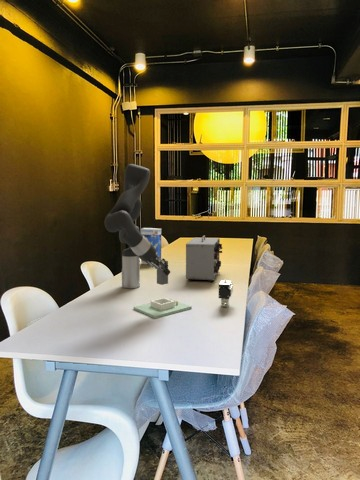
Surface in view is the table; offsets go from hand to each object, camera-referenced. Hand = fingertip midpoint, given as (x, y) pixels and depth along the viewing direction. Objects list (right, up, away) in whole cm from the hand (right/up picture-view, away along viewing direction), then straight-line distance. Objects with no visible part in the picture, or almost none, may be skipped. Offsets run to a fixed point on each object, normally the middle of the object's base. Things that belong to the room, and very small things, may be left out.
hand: (165, 272), depth 162 cm
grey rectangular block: (-2, -5, -1) cm, 5 cm away
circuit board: (-1, -16, +1) cm, 16 cm away
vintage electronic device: (+22, -8, +65) cm, 69 cm away
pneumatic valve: (+27, -16, +4) cm, 31 cm away
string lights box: (-14, -3, +105) cm, 106 cm away
